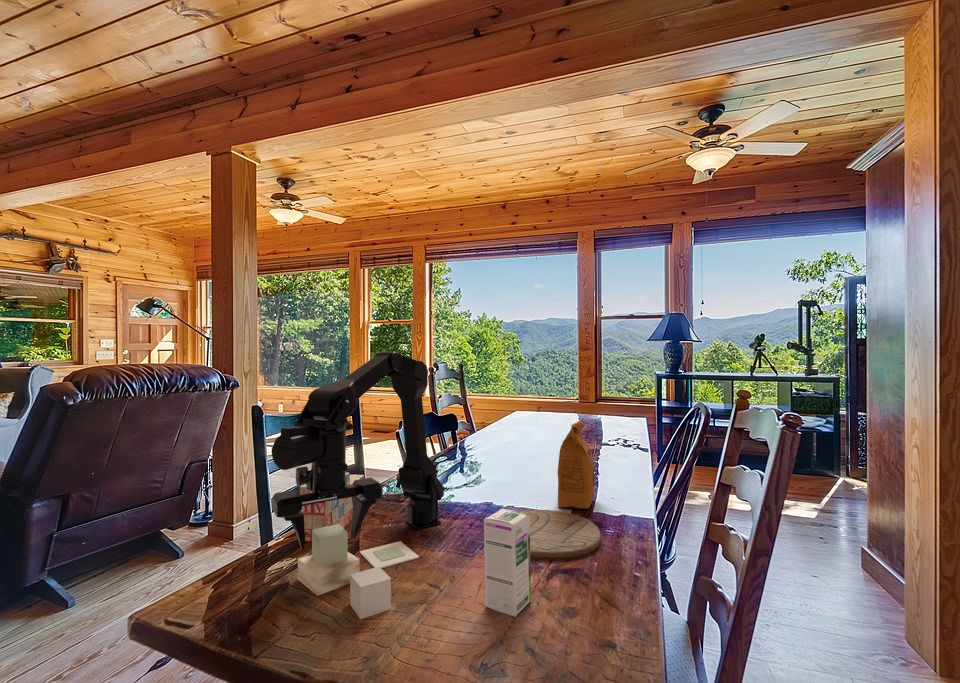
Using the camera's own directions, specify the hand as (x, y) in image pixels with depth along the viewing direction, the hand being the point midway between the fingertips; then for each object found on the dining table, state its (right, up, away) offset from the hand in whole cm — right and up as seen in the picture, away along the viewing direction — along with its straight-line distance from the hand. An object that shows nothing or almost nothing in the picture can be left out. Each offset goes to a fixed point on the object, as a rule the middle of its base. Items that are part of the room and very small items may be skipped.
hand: (329, 543), depth 84 cm
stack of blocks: (-7, -8, +27) cm, 29 cm away
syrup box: (+32, -7, -9) cm, 34 cm away
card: (+9, -7, +10) cm, 15 cm away
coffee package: (+54, -8, +41) cm, 68 cm away
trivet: (+42, -8, +20) cm, 47 cm away
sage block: (0, -3, 0) cm, 3 cm away
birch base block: (0, -7, 0) cm, 7 cm away
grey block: (+10, -6, -9) cm, 15 cm away
